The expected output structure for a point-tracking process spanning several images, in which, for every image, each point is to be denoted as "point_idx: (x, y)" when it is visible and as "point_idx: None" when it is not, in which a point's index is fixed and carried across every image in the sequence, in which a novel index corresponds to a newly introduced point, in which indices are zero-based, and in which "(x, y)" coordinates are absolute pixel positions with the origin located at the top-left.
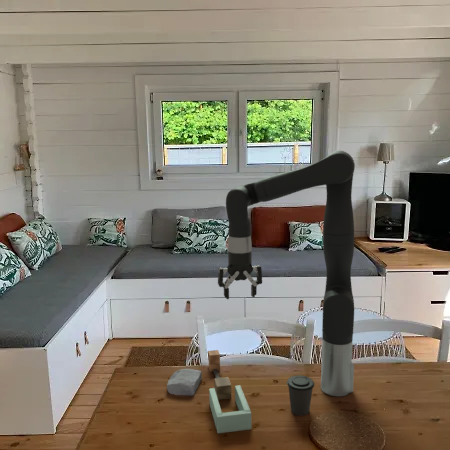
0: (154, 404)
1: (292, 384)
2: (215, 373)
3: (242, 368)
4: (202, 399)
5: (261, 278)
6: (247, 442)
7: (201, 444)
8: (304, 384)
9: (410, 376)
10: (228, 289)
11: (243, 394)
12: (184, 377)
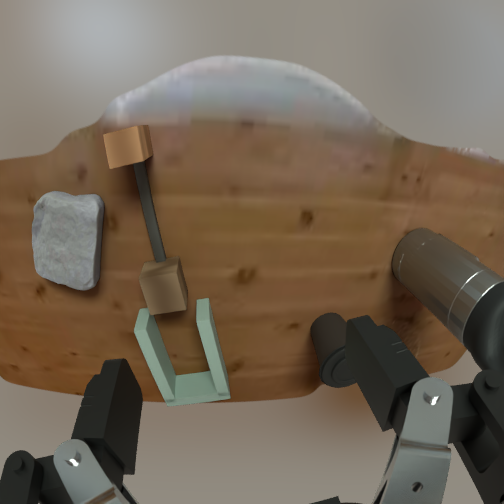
0: (36, 305)
1: (329, 378)
2: (139, 185)
3: (222, 142)
4: (122, 293)
5: (490, 454)
6: None
7: (148, 400)
8: (351, 381)
9: None
10: (130, 467)
11: (216, 352)
12: (62, 253)
